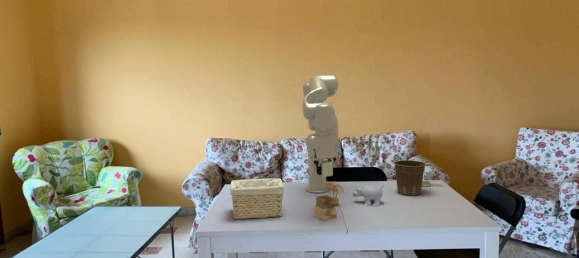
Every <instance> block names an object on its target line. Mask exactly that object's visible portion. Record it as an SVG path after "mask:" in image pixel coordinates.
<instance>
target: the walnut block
mask: <svg viewBox="0 0 579 258" xmlns="http://www.w3.org/2000/svg"><path fill="white" fill-rule="evenodd" d="M315 205H316V206H318V207H320V208H322V209H327V208H333V207H336V205H335V198H333V196H331V195H329V194H325V195H318V196H316V197H315Z"/></svg>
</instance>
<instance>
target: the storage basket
mask: <svg viewBox="0 0 579 258" xmlns="http://www.w3.org/2000/svg"><path fill="white" fill-rule="evenodd" d="M229 188H230V195H231V200H232V212H233V219H235V220H243V219H254V218H255V219H258V218H259V219H266V218H275V217H282V215H283V213H282V210H283V209H282V208H283V198H284V197H283V196H284V194H285V190H284V188H285V187H284V182H283V181H282V179H281V178H250V179H236V180H231V181H230V186H229Z"/></svg>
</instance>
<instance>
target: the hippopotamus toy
mask: <svg viewBox="0 0 579 258" xmlns="http://www.w3.org/2000/svg"><path fill="white" fill-rule="evenodd" d="M384 187H385V184H384V183H383V184H382V185H380V186H377V185H374V184H373V185H371V184H370V185H365V186H362V187H361V186H359V187H357V188H356V189H355V190H353V193H352V196H353V197H354V198H358V197H363V201H364V202H365V203H364V206H365V207H370V206H373V207H380V206H381V198H382V197H383V191H382V190H383V188H384ZM372 202H373V203H372Z"/></svg>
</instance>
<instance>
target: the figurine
mask: <svg viewBox="0 0 579 258" xmlns="http://www.w3.org/2000/svg"><path fill="white" fill-rule="evenodd" d="M331 187H333V188H332V191H331V192H332V197H333V198H335V206H336V205H338V204H339V203H340V200H339V197H338V191H339V189H338V187H339V188H341V189H342V192H343V191H344V190H345V189H344V188H343V186H342V185H340V184H337V181H333V185H329V186H328V188H327V190H328V189H329V190H330V188H331ZM329 190H328V191H329ZM344 192H345V191H344Z"/></svg>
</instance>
